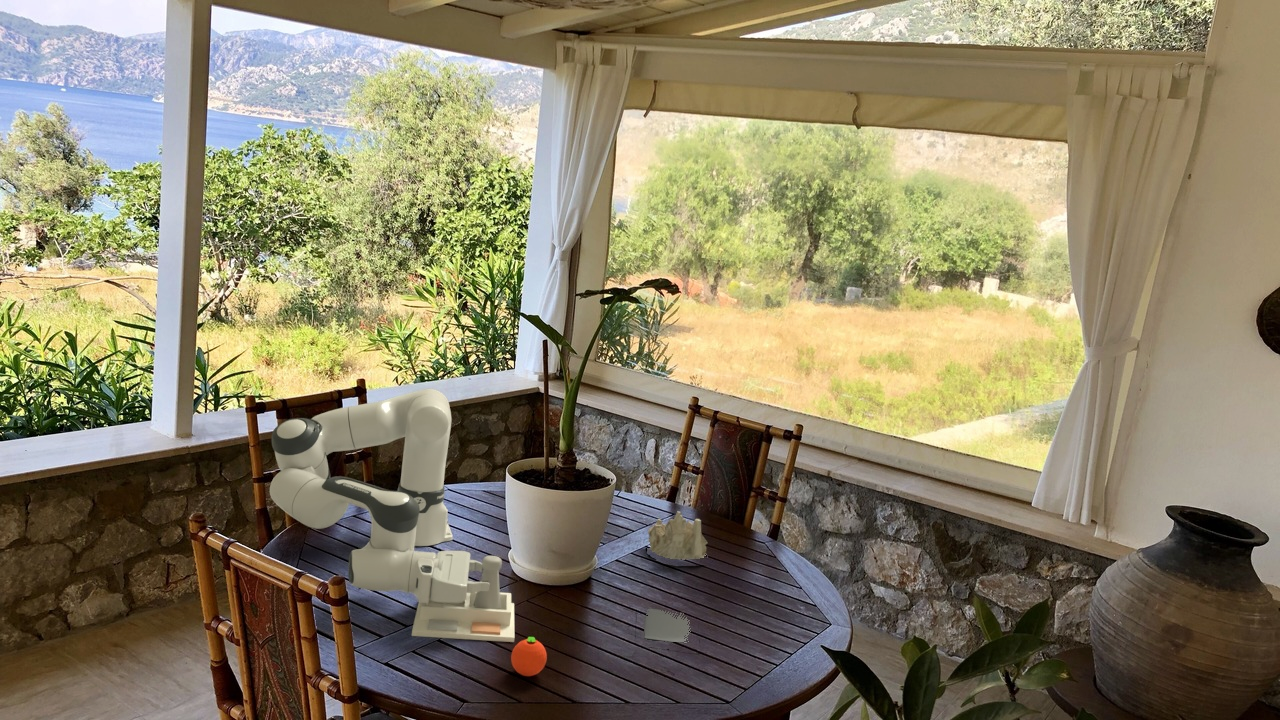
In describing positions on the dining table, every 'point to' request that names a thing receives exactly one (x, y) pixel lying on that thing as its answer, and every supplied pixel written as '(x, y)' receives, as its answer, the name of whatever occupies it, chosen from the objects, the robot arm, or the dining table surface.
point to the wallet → (665, 626)
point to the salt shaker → (492, 575)
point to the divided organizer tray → (466, 620)
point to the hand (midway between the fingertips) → (489, 577)
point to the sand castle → (678, 539)
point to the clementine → (529, 657)
